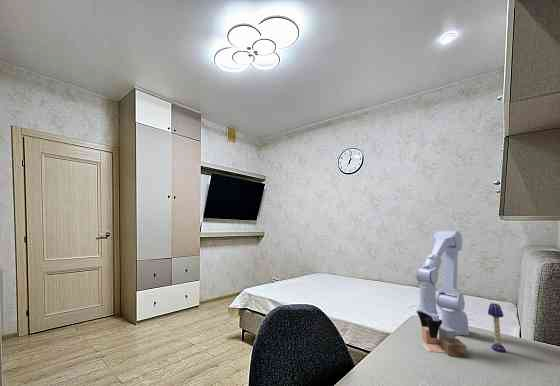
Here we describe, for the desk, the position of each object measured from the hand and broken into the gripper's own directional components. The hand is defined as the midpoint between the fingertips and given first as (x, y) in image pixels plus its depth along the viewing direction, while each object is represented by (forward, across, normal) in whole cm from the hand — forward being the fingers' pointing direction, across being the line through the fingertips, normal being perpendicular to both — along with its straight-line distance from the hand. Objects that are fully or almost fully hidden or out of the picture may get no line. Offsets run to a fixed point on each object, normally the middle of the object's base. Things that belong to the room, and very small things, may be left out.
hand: (429, 333), depth 107 cm
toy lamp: (+3, +3, +23) cm, 24 cm away
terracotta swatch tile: (+3, +6, -1) cm, 7 cm away
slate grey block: (+3, -1, +7) cm, 8 cm away
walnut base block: (+3, +8, +5) cm, 10 cm away
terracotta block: (+3, 0, 0) cm, 3 cm away
